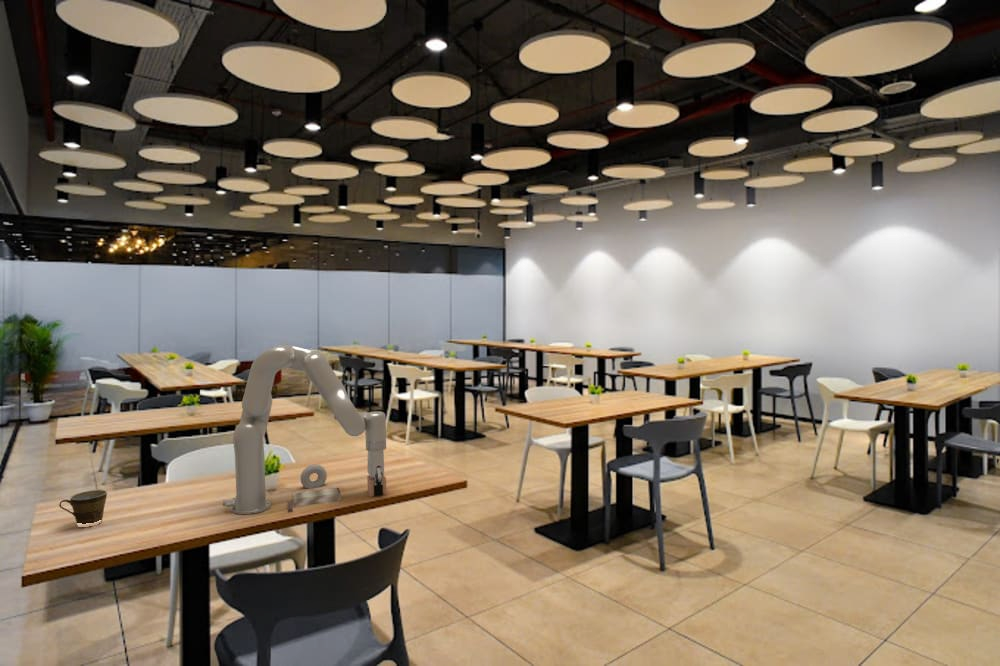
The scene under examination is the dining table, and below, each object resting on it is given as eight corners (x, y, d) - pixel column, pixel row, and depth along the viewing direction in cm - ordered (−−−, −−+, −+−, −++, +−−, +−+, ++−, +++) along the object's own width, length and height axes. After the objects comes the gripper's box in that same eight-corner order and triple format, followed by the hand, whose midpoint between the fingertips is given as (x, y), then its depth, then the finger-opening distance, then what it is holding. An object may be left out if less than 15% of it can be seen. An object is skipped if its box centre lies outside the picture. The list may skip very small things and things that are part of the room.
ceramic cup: (110, 517, 200) (108, 488, 199) (105, 526, 191) (104, 496, 190) (63, 523, 194) (62, 494, 193) (57, 534, 185) (55, 503, 184)
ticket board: (288, 512, 202) (287, 500, 202) (287, 503, 211) (287, 492, 211) (391, 498, 215) (391, 487, 215) (386, 491, 224) (386, 480, 224)
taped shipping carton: (370, 496, 214) (369, 480, 214) (367, 491, 219) (367, 475, 219) (386, 494, 216) (386, 478, 216) (383, 489, 222) (383, 473, 221)
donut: (301, 493, 223) (301, 467, 222) (299, 490, 226) (299, 465, 225) (328, 488, 228) (327, 463, 228) (325, 486, 231) (325, 461, 231)
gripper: (362, 441, 224) (363, 487, 224) (369, 451, 208) (370, 501, 208) (382, 439, 226) (383, 485, 227) (390, 449, 210) (391, 498, 211)
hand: (376, 492), depth 218 cm, fingers closed on taped shipping carton, 6 cm apart
